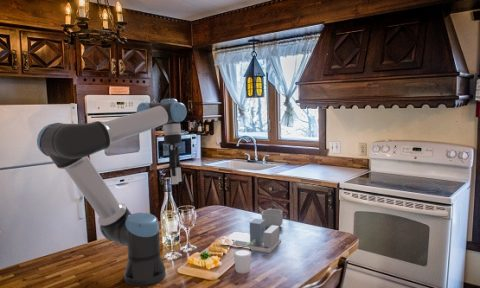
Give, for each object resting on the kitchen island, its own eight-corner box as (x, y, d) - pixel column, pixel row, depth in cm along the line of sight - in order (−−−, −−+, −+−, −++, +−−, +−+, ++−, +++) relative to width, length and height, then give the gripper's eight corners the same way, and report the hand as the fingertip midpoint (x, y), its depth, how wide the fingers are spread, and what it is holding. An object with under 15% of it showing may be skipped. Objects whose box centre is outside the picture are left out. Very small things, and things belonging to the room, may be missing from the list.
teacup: (283, 230, 186) (283, 214, 185) (262, 230, 186) (261, 215, 185) (281, 221, 199) (281, 206, 199) (261, 221, 200) (260, 207, 199)
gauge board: (220, 244, 169) (220, 227, 168) (234, 234, 181) (234, 218, 180) (269, 252, 158) (269, 234, 157) (280, 241, 171) (280, 224, 170)
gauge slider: (246, 245, 163) (245, 225, 162) (255, 237, 172) (255, 218, 171) (256, 247, 160) (256, 227, 159) (265, 238, 170) (265, 219, 169)
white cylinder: (241, 264, 148) (241, 247, 147) (255, 269, 144) (254, 251, 143) (230, 270, 143) (229, 253, 142) (244, 275, 138) (243, 257, 137)
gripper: (167, 136, 174) (172, 181, 173) (159, 133, 149) (163, 186, 148) (183, 135, 174) (188, 180, 174) (177, 131, 149) (182, 184, 149)
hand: (176, 183), depth 161 cm, fingers open, 13 cm apart
